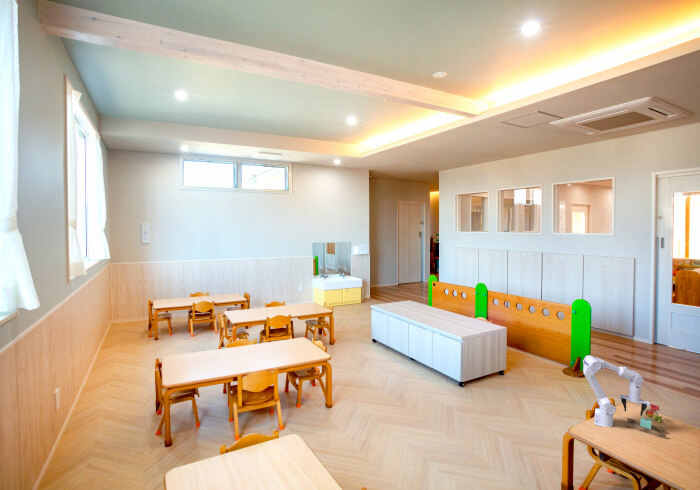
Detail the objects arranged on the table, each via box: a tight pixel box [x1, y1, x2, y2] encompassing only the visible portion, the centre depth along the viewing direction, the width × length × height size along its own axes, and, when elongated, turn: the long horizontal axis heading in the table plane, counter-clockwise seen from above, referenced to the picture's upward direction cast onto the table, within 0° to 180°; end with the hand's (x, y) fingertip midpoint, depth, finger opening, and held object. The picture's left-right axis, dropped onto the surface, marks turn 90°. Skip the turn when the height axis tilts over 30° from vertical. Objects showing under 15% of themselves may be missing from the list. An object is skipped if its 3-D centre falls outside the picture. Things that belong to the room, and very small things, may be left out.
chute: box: [625, 417, 667, 440], centre depth 219 cm, size 19×7×4 cm, turn 48°
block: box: [639, 416, 653, 429], centre depth 219 cm, size 5×5×6 cm
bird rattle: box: [643, 403, 664, 423], centre depth 231 cm, size 6×11×9 cm
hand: (633, 413), depth 222 cm, fingers open, 7 cm apart
